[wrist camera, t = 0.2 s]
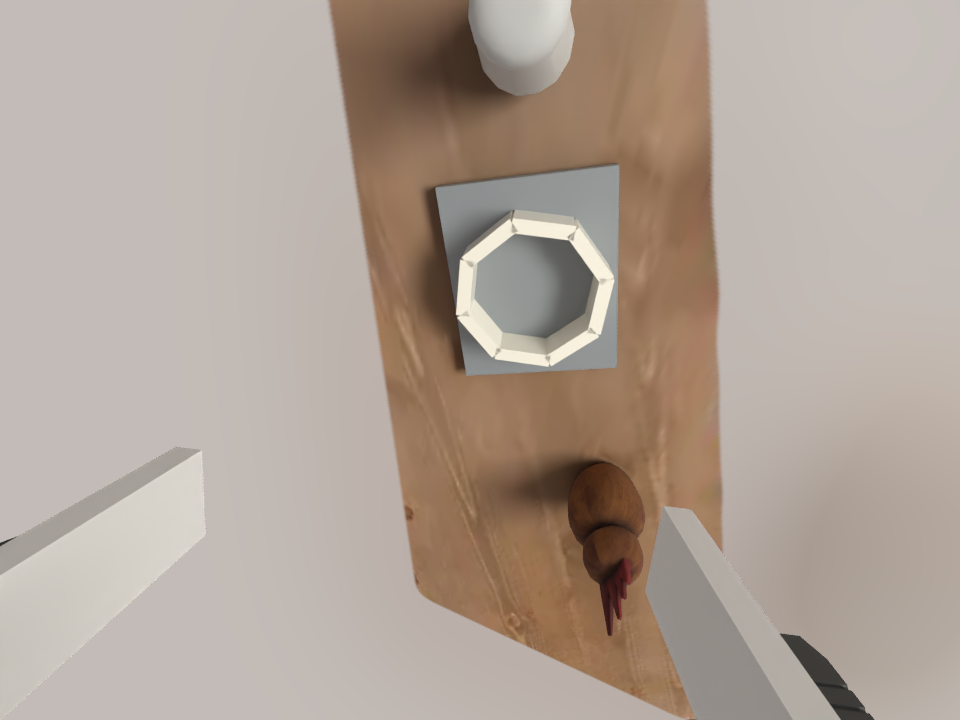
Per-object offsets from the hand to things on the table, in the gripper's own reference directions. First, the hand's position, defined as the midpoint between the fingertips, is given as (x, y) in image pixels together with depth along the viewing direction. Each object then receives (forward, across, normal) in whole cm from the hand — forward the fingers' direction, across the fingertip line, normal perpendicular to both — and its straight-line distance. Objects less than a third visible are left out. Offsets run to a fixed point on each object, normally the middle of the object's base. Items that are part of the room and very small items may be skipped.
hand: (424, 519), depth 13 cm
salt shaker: (+22, +1, +21) cm, 30 cm away
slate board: (+26, +4, +6) cm, 27 cm away
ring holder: (+25, +4, +6) cm, 26 cm away
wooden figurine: (+32, +13, -13) cm, 37 cm away
